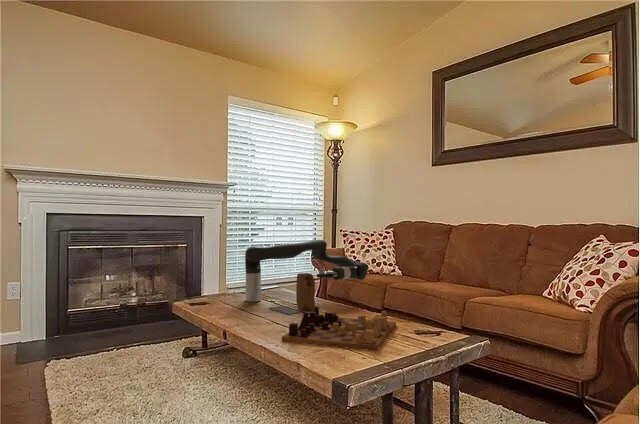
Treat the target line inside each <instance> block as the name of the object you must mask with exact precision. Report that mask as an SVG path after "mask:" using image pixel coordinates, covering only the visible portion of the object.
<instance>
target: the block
mask: <svg viewBox="0 0 640 424" xmlns="http://www.w3.org/2000/svg"><path fill="white" fill-rule="evenodd" d="M296 275H297V276H296V289H295V290H296V291H295V292H296V294H295V295H296V305H297V309H298V311H299V310H300V311H304V312H308V311H310V312H312V311H314V307H315V306H316V305H315V304H316V302H315V301H316V299H315V294H316V281H315V277H314V274H312V273H309V272H305V273H304V272H303V273H302V272H301V273H297V274H296Z"/></svg>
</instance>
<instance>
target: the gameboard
mask: <svg viewBox="0 0 640 424" xmlns="http://www.w3.org/2000/svg"><path fill="white" fill-rule="evenodd" d="M319 309H320V308H319V306H317V305H315V307H314V310H312V311H310V312H308V311H304V312H303V316H302V317H301V321H300V323H299V326H298V323H295V322H291V323H289V324H288V332H287V333H285V334H284V335H282V336H281V342H282V343H283V342H284V343H292V342H295V343H294V344H302V343H306V344H305V345H312V344H317V345H316V346H322V345H327V346H326V347H331V346H338V347H337V348H341V347H348V348H347V349H351V348H356V349H355V350H361V349H368V350H367V351H371V350H377V351H379V349H380V348H381V347H382V345H383V344H384V343H385V341H386V340H387V339H388V337H389V336H390V335H389V334H392V332H393V331H392V330H395V328H396V327H397V322H396V321H393V320H392V321H390V320H388V315H387V311H386V310H382V311H381V313H380V316H378V315H374V316H373V317H372V318H371V319H370V318H369V319H366V318H367V316H366V314H365V315H364V314H358V316H357V318H354V317H353V318H352V317H351V318H350V317H339V315H337V312H327V311H325V313H324V314H320V310H319ZM388 335H389V336H388ZM386 338H387V339H386ZM385 339H386V340H385ZM383 342H384V343H383ZM382 343H383V344H382ZM381 344H382V345H381ZM379 347H380V348H379ZM378 348H379V349H378Z"/></svg>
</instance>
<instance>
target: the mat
mask: <svg viewBox="0 0 640 424" xmlns="http://www.w3.org/2000/svg"><path fill="white" fill-rule="evenodd" d="M268 309H269V310H272V311H275V312H278V313H280V314H284V315H288V316H290V315H296V314H297V315H298V314H301V311H299V310H297V309H296V310H295V309H293V308H289V307H287V306H283V305H278V306H277V305H276V306H271V307H268Z"/></svg>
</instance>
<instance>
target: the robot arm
mask: <svg viewBox="0 0 640 424" xmlns="http://www.w3.org/2000/svg"><path fill="white" fill-rule="evenodd" d="M327 248H328V247H327V242H326V241H325V240H323V239H314V240H307V241H304V242H303V241H301V242H295V243H294V242H293V243H282V244H278V245H273V246H269V247H258V246H252V245H251V246H250V247H248V248H246V250H245V253H244V257H245V259H244V260H245V261H244V262H245V263H244V264H245V265H244V266H245V267H244V268H245V301H246V302H249V303H250V302H251V303H253V302H259V301H261V300H262V270H261V261H266V260H285V259H293V258H296V257H297V256H299V255H302V253H304V252H307V251H311V255H312V257H314V258H315V259H318V260H321V261H324V262H326V263H330V264H332V265H336V266H337V267H336V266H335V267H332V269H331V270H327V271H324V270H323V271H321V272H319V273H317V274H316V278H317V279H321V278H324V279H326V278H327V279H332V280H334V281H341V280H347V279H356V280H364V279H366V277H367V273H368V271H369V265H368V263H366V262H361V261H356V260H354V259H351V258H349V257H347V256H344V255H331V254H329V253H328V252H327Z"/></svg>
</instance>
